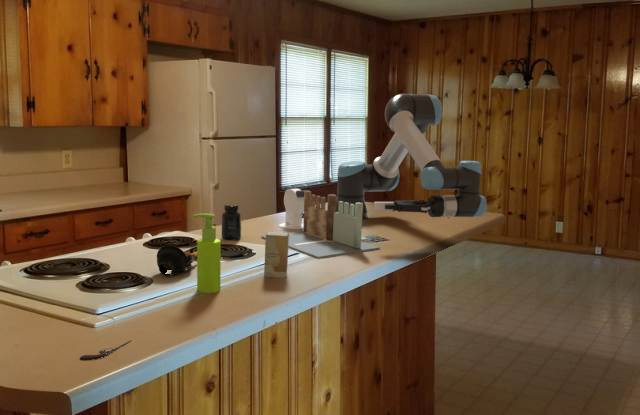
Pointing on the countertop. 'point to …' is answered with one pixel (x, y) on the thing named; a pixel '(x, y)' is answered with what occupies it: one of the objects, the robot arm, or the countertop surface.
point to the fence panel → (348, 224)
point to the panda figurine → (293, 208)
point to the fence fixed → (319, 215)
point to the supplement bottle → (231, 222)
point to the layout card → (322, 245)
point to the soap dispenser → (208, 257)
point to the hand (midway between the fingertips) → (374, 206)
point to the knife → (90, 357)
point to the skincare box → (276, 254)
